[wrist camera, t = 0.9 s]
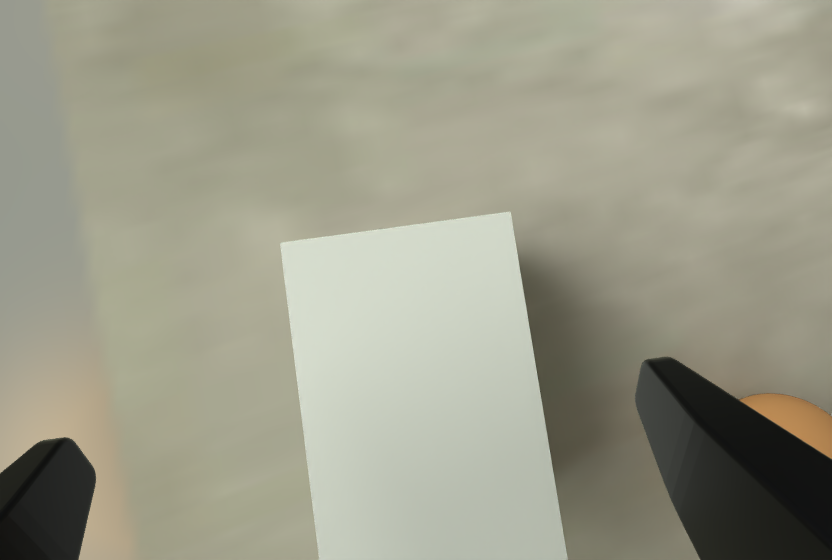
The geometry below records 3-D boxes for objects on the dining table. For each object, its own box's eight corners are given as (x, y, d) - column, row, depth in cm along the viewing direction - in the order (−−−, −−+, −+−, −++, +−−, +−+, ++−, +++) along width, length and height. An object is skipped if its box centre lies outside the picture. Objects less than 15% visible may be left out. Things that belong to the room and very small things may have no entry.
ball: (802, 491, 24) (911, 534, 19) (695, 510, 23) (777, 558, 18) (779, 379, 24) (880, 392, 19) (673, 396, 24) (748, 413, 19)
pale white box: (516, 492, 23) (567, 559, 16) (344, 521, 23) (324, 602, 16) (476, 245, 24) (510, 211, 17) (311, 268, 24) (280, 242, 17)
